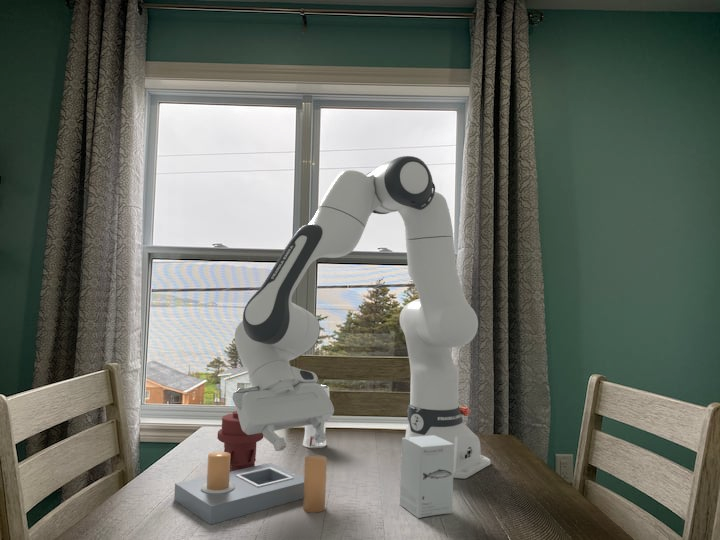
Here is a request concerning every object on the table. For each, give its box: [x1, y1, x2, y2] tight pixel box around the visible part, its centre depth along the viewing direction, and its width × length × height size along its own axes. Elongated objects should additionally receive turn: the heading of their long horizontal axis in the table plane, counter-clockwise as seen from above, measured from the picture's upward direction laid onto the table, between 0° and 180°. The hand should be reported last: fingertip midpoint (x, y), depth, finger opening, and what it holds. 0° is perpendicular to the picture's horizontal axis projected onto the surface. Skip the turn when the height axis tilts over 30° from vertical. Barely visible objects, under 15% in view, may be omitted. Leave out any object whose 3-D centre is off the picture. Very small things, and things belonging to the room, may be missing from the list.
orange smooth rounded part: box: [302, 454, 328, 513], centre depth 100 cm, size 4×4×9 cm
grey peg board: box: [173, 451, 304, 525], centre depth 104 cm, size 21×14×9 cm, turn 133°
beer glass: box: [302, 384, 330, 449], centre depth 142 cm, size 7×7×15 cm
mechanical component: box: [217, 410, 264, 471], centre depth 122 cm, size 12×10×10 cm
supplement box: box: [399, 435, 454, 519], centre depth 102 cm, size 7×7×13 cm
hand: (302, 445), depth 103 cm, fingers open, 8 cm apart
